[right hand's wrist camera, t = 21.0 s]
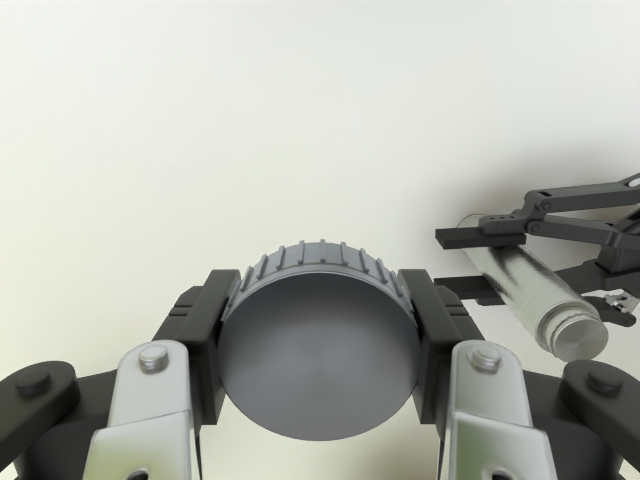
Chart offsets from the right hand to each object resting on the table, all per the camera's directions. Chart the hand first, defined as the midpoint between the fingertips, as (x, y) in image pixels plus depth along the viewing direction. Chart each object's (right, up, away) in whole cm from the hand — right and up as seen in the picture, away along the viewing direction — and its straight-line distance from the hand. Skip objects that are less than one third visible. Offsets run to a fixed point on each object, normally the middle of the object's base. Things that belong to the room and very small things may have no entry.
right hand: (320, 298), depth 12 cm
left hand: (+10, 0, +23) cm, 25 cm away
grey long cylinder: (+16, +2, +29) cm, 33 cm away
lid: (0, -1, -2) cm, 3 cm away
